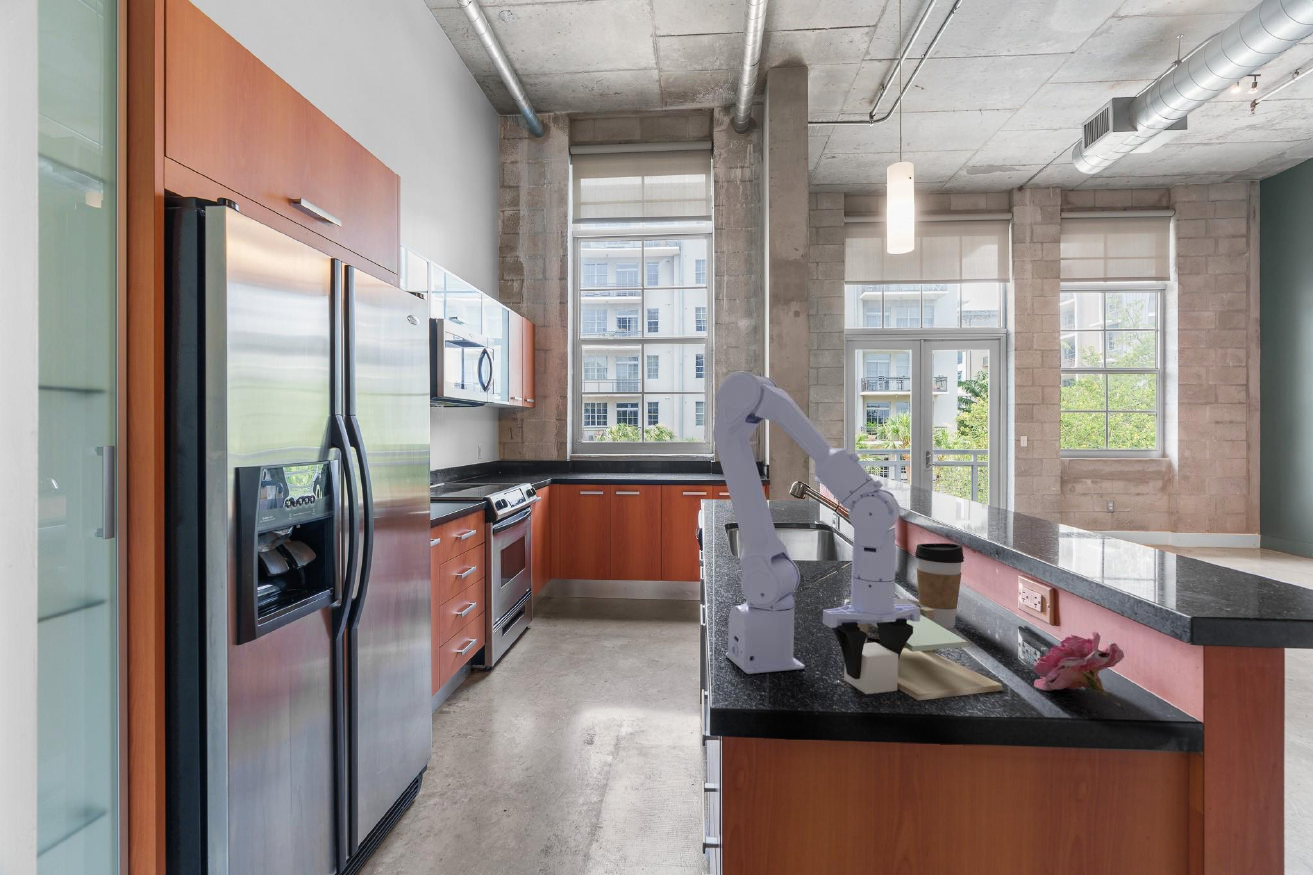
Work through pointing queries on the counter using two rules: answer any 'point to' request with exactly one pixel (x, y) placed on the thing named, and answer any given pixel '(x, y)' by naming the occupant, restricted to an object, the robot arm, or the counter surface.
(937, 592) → the coffee cup
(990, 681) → the stand
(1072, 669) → the flower
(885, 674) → the cream cube
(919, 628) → the trapdoor
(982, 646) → the counter surface
